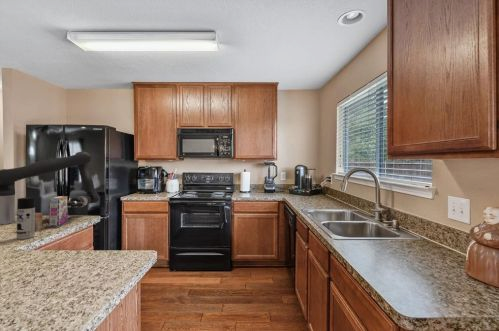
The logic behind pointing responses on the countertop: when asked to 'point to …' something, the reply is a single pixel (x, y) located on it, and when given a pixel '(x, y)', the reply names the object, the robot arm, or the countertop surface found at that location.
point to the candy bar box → (58, 211)
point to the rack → (42, 223)
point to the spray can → (25, 218)
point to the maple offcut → (39, 224)
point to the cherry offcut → (38, 217)
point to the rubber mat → (57, 226)
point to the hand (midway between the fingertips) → (64, 206)
